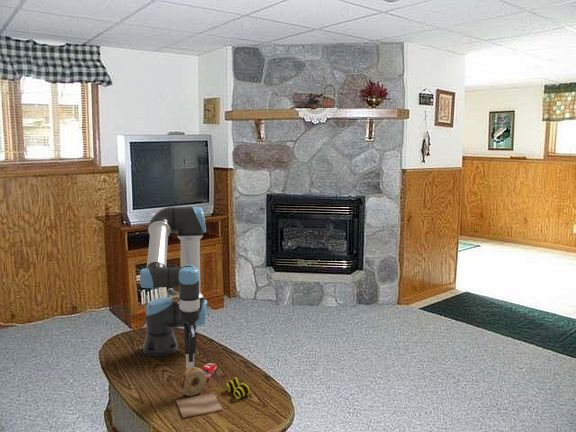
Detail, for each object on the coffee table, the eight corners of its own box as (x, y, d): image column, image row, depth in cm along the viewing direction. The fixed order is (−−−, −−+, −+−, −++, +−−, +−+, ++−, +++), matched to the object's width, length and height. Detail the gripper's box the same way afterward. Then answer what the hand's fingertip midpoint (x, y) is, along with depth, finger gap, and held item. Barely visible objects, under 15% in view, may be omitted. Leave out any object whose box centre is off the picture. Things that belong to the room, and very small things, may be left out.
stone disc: (182, 400, 179) (182, 374, 178) (178, 396, 182) (177, 370, 180) (208, 391, 185) (207, 367, 184) (203, 388, 188) (203, 363, 187)
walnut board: (176, 401, 178) (176, 400, 178) (213, 394, 184) (213, 392, 184) (182, 418, 167) (182, 417, 167) (222, 410, 173) (222, 408, 173)
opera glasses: (225, 392, 187) (223, 381, 186) (237, 385, 190) (235, 374, 189) (239, 403, 180) (237, 391, 179) (251, 396, 183) (249, 384, 182)
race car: (205, 385, 191) (205, 376, 190) (192, 383, 192) (192, 374, 191) (219, 370, 203) (219, 361, 203) (207, 368, 205) (207, 359, 204)
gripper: (176, 304, 187) (177, 363, 191) (182, 315, 176) (183, 377, 179) (195, 302, 190) (196, 359, 194) (203, 313, 179) (204, 374, 182)
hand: (190, 368), depth 187 cm, fingers closed
